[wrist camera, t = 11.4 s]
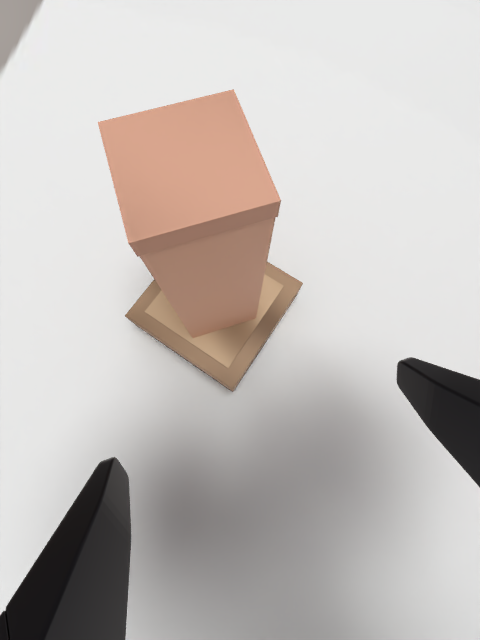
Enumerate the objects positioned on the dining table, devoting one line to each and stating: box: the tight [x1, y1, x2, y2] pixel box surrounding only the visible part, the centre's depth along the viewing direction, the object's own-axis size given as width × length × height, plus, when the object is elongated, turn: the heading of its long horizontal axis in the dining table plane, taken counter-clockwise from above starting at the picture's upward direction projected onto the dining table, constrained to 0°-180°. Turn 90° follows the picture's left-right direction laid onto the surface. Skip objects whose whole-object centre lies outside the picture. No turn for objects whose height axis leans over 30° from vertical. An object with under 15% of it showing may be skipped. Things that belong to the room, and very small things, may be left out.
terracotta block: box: [98, 90, 281, 338], centre depth 16 cm, size 5×5×12 cm
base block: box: [125, 262, 303, 392], centre depth 23 cm, size 9×9×3 cm
